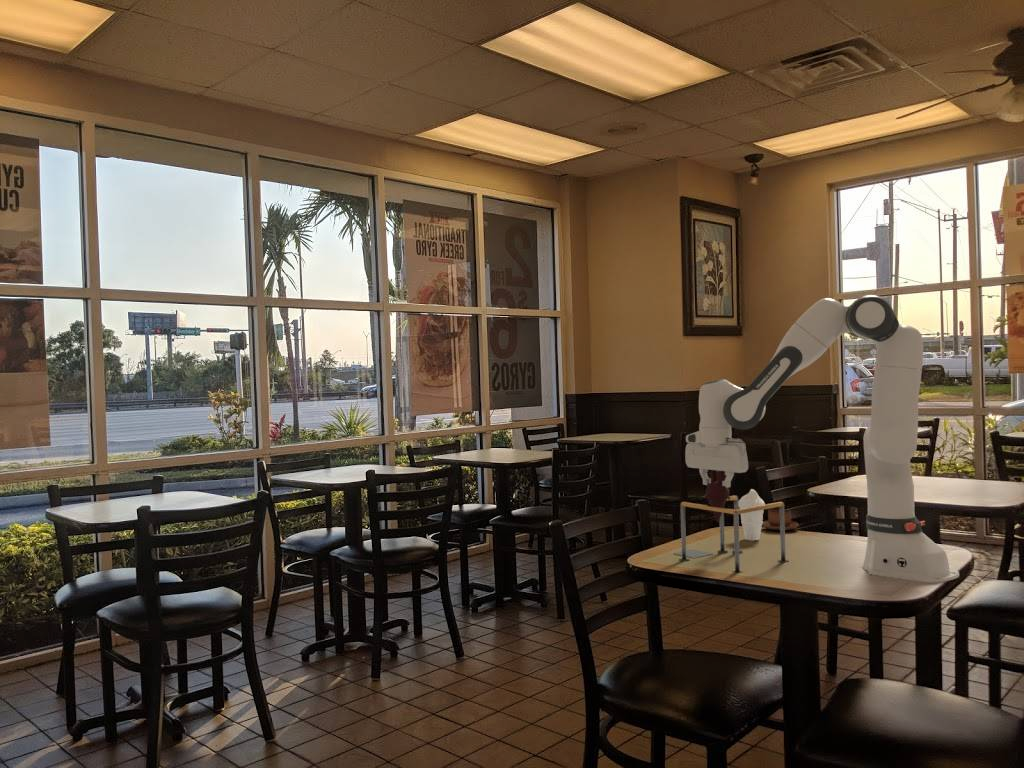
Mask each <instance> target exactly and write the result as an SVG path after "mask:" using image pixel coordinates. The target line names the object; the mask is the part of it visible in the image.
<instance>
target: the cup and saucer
mask: <svg viewBox="0 0 1024 768" xmlns="http://www.w3.org/2000/svg"><path fill="white" fill-rule="evenodd" d="M767 510H768V511H767V518H768V519H767V520H764V521H763V520H762V521H763V523H762V527H764V528H766V529H768V530H773V531H780V508H769V509H767ZM784 519H785V531H791V530H794V529H796V528H798V526H799V524H800V523H798V522H797V521H793V520H792V511H791V510H790V509H787V508H784Z"/></svg>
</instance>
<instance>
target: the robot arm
mask: <svg viewBox="0 0 1024 768" xmlns="http://www.w3.org/2000/svg"><path fill="white" fill-rule="evenodd" d="M844 334H848V335H851V336H854V337H856V338H859V339H862V340H866V341H867V340H869V341H870V340H871V341H872V342H874V344H875V348H876V356H875V357H876V358H875V366H874V372H873V382H872V388H871V415H870V424H869V425H868V426H867V428H866V429H865V431H864V434H863V440H862V441H863V452H864V453H863V456H864V466H865V467H864V468H865V477H866V487H867V488H866V489H867V491H866V493H867V514H866V515H865V517H866V518H865V528H866V532H867V539H866V541H867V543H866V548H865V550H866V551H865V554H864V555H865V556H864V560H863V563H862V568H863V569H864V570H865V571H867V573H868V575H870V574H872V575H871V576H877V575H879V576H878V577H884V576H886V578H891V577H894V578H893V579H899V578H901V579H900V580H906V581H907V580H908V581H913V582H914V581H915V582H922V583H927V584H928V583H930V584H931V583H932V584H933V583H936V584H937V583H942V582H944V583H945V582H949V581H953V580H955V579H958V578H960V571H958V570H954V569H950V563H949V558H948V555H947V553H946V551H945V550H944V548H942V547H941V546H939V545H938V544H937V543H935V542H934V540H932V539H931V538H930V537H929V536H927V535H926V534H925V533H924V532H923V529H922V526H925V525H926V523H925V522H926V520H921V521H920V520H919V519H918V518H917V517H916V515H915V484H914V480H913V473H912V468H911V467H912V465H911V459H912V458H913V457H914V455H915V454H916V452H917V448H918V447H917V446H918V432H919V431H918V430H919V428H918V427H919V397H920V389H921V381H922V373H923V372H922V371H923V363H924V345H923V344H924V343H923V336H922V333H921V332H920V331H919V330H918V329H917V328H915V327H913V326H910V325H907V324H900V322H899V320H898V318H897V316H896V314H895V311H894V309H893V308H892V306H891V304H890V303H889V302H888V301H887V299H885V298H884V297H881V296H880V295H876V294H875V295H874V294H867V295H864V296H861V297H858V298H857V299H855V300H854V301H853V302H852V303H851V304H850V305H845V304H842V303H841V302H840V301H838V300H836V299H834V298H829V297H825V298H821V299H819V300H818V301H816V302H815V303H814V304H812V305H811V306H810V307H809V308H808V309H807V310H806V311H805V312H803V314H801V316H800V317H798V319H797V320H796V321H795V322H794V323H793V324H792V325H791V327H790V328H789V329H788V331H787V332H786V333H785V335H784V336H783V338H782V339H781V341H780V343H779V345H778V347H777V349H776V350H775V352H774V354H773V356H772V358H771V359H770V361H769V362H768V364H767V365H765V367H764V368H763V369H762V370H761V372H760V373H759V374H758V375H757V376H756V377H755V378H754V380H752V381H751V382H750V383H749V384H748V385H747V386H746V387H744V388H742V387H739V386H737V385H735V384H734V383H732V382H730V381H729V380H727V379H724V378H722V379H716V380H712V381H707V382H705V383H703V384H702V385H701V386H700V388H699V392H698V393H699V395H698V413H699V417H700V419H699V421H700V422H699V426H698V427H699V428H698V429H699V430H697V431H695V432H692V433H690V434H687V435H686V436H685V442H686V443H687V444H686V446H685V451H684V452H685V453H684V455H685V464H686V466H687V468H692V469H699V470H698V471H699V474H700V477H701V479H702V485H705V486H708V485H709V484H710V483H712V481H711V478H710V476H708V472H709V470H710V471H711V470H716V471H717V472H718V471H724V476H725V479H724V480H723V481H722V484H723V485H722V486H723V487H726V488H728V489H729V488H731V486H732V485H731V484H732V483H731V482H732V480H733V477H734V476H735V473H736V474H737V473H738V474H742V473H746V472H748V470H749V460H748V453H747V450H746V449H747V446H746V443H745V442H744V441H743V440H742V439H741V438H732V435H733V433H732V428H734V429H737V430H742V431H744V430H745V431H746V430H750V429H753V428H754V427H755V426H757V425H758V423H759V422H760V421H761V420H762V419H763V418H764V417H765V415H766V410H767V403H768V401H769V400H770V399H771V398H772V397H773V396H774V394H775V393H776V392H777V391H778V390H779V389H780V388H781V387H782V385H784V383H786V381H787V380H788V379H790V378H791V376H793V375H795V374H796V373H798V372H800V371H801V370H803V369H805V368H807V367H809V366H811V365H812V364H813V363H815V362H816V361H817V360H818V359H819V358H821V356H822V355H823V354H824V353H826V351H827V350H828V349H829V348H830V347H831V346H832V345H833V343H834V342H835V341H836V340H838V339H839V338H840V337H841V336H842V335H844Z"/></svg>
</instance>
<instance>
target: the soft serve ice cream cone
mask: <svg viewBox="0 0 1024 768" xmlns="http://www.w3.org/2000/svg"><path fill="white" fill-rule="evenodd" d="M760 505H766V503H765V501H764V500H763V499H762V498H761V497H760V496H759V494H758V492H757V491H756V490H755V489H753V488H751V489H750V490H749V492H748V493H746V494H745V495H743V496H741V498H740V499H738V508H739V509H743V508H749V507H754V506H760ZM763 515H764V510H758V511H753V512H747V513H742V514H740V520H741V521H740V522H741V525H742V531H743V534H744V538H745V540H746V541H753V542H754V541H755V540H756V541H759V540H760V537H761V533H762V527H763V526H762V523H763V520H764V518H763V517H764V516H763Z"/></svg>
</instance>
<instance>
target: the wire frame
mask: <svg viewBox="0 0 1024 768" xmlns="http://www.w3.org/2000/svg"><path fill="white" fill-rule="evenodd" d="M729 497H730V499H727V500H726V502H728V501H733V508H726V507H724V508H720V507H714V506H711V505H707V504H702V503H701V504H700V503H693V502H687V501H681V503H680V532H681V535H680V537H681V538H680V539H681V552H682V556H681V558H679V559H678V560H681V561H680V562H684V561H685V562H689V561H690V558H688V557H686V551H687V538H686V537H687V536H686V534H687V533H686V508H687V507H688V508H692V509H693V508H694V509H699V510H705V511H711V512H713V511H717V512H722V514H721V517H720V519H719V541H720V543H719V546H720V547H719V548H720V549H718V550H717V553H718V554H723V555H724V554H728V552H729V551H728V550H725V547H726V546H725V514H730V515H733V539H734V540H733V545H734V547H733V549H734V550H732V554H734V570H732V571H731V573H735V574H742V573H743V571H742V570H740V569H741V568H740V561H741V560H740V555H741V554H742V553H744V552H743V550H740V522H739V521H740V517H739V515H741V514H742V513H747V512H753V511H758V510H763V511H764V510H770V509H776V508H779V509H780V530H779V531H780V533H779V535H780V538H779V539H780V559H778V560H777V562H779V563H783V564H785V563H788V562H789V560H788V559H786V532H785V531H786V530H785V519H784V509H785V503H784V502H783V501H778V502H772V503H767V504H766V503H765V505H760V506H754V507H749V508H743V509H740V508H739V506H738V503H739V496H738V495H731V496H730V495H729Z"/></svg>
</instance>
